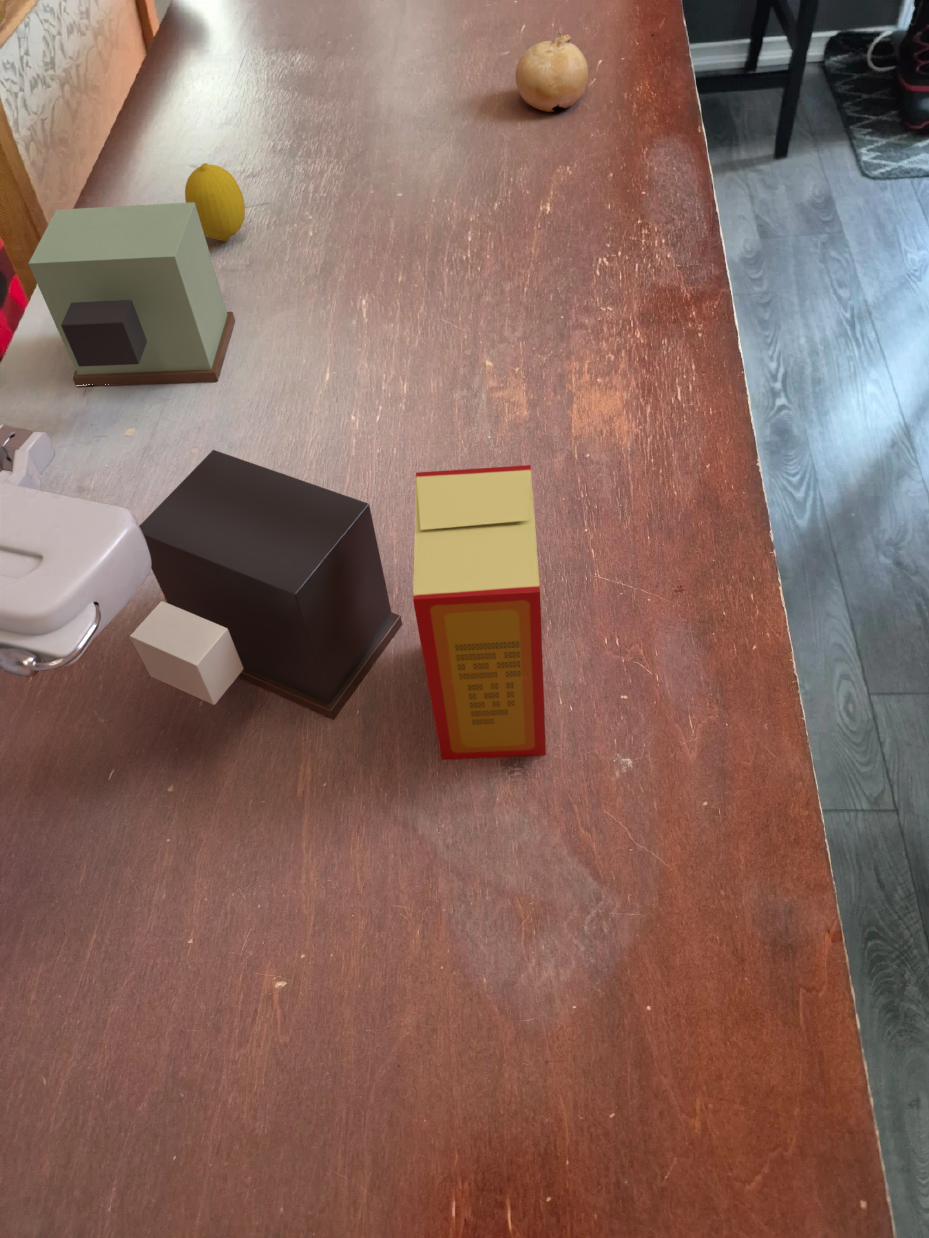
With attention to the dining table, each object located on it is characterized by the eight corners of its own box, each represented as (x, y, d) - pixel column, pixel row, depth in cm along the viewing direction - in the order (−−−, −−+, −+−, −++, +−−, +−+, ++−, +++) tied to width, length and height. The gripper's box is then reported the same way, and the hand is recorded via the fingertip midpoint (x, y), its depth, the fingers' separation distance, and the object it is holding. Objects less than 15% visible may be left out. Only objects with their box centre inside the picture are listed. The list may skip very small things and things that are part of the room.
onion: (577, 123, 117) (577, 55, 111) (508, 117, 119) (504, 51, 113) (594, 89, 121) (595, 23, 116) (527, 84, 123) (525, 19, 118)
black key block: (333, 720, 69) (297, 601, 60) (180, 652, 74) (124, 533, 65) (402, 624, 74) (378, 501, 65) (254, 566, 79) (212, 443, 69)
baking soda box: (545, 754, 67) (539, 587, 54) (441, 759, 67) (412, 594, 55) (537, 635, 73) (530, 460, 60) (441, 640, 73) (415, 467, 61)
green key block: (217, 381, 93) (178, 259, 84) (75, 387, 94) (21, 266, 85) (235, 320, 98) (200, 199, 89) (101, 326, 100) (52, 207, 90)
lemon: (189, 254, 106) (166, 178, 100) (210, 224, 109) (189, 148, 103) (241, 258, 105) (220, 181, 99) (260, 227, 108) (242, 151, 102)
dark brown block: (139, 364, 85) (122, 322, 82) (78, 367, 86) (60, 325, 83) (147, 341, 87) (132, 299, 84) (88, 344, 88) (70, 302, 85)
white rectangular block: (214, 705, 64) (196, 665, 60) (149, 676, 65) (128, 635, 62) (244, 669, 65) (227, 628, 62) (180, 641, 67) (161, 600, 64)
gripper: (31, 638, 43) (188, 422, 51) (-359, 544, 48) (-158, 360, 56) (82, 725, 48) (218, 515, 56) (-277, 632, 53) (-103, 451, 61)
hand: (28, 437), depth 56 cm, fingers closed
